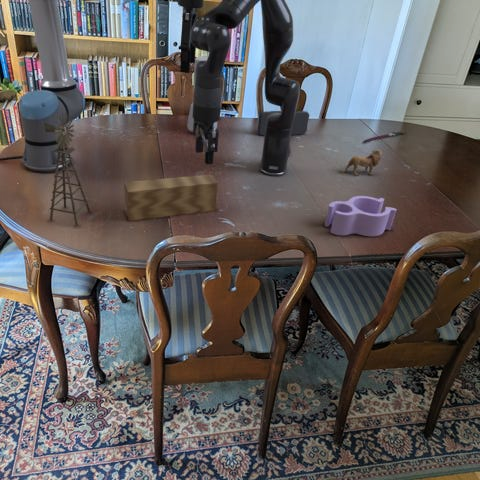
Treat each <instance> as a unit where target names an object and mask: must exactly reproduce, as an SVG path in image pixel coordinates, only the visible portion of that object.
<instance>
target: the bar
mask: <svg viewBox="0 0 480 480" xmlns="http://www.w3.org/2000/svg"><path fill="white" fill-rule="evenodd" d="M123 193H124V194H123V195H124V211H125V214H126V216H127V219H128V221H129V222H132V221H140V220H148V219H149V220H151V219H157V218H165V217H173V216H181V215H191V214H197V213H198V214H199V213H206V212H213V211H216V210H217V197H218V181H217V180H216V179H215V178H214V176H213V175H212V173H211V174H200V175H199V174H198V175H187V176H179V177H168V178H167V177H166V178H158V179H147V180H146V179H145V180H134V181H125V182H123Z"/></svg>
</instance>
